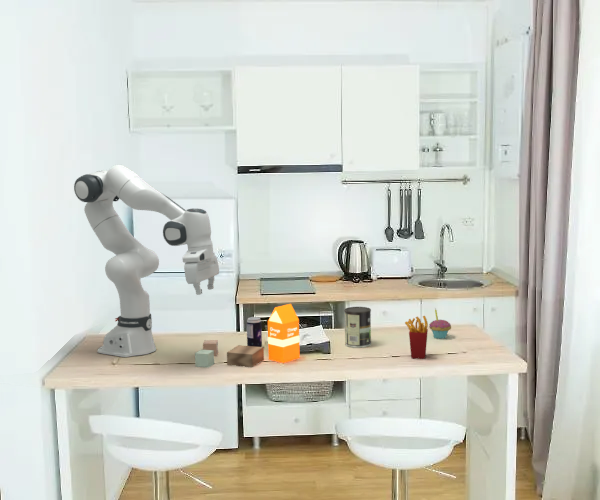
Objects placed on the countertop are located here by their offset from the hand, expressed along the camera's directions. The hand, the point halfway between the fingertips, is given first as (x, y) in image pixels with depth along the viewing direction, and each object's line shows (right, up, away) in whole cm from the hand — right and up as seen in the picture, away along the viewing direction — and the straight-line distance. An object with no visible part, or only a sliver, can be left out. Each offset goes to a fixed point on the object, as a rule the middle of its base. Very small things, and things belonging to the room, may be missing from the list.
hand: (205, 291), depth 275 cm
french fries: (+77, -24, +6) cm, 81 cm away
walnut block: (+14, -26, +3) cm, 30 cm away
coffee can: (+57, -22, +24) cm, 66 cm away
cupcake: (+90, -20, +32) cm, 98 cm away
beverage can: (+17, -23, +21) cm, 36 cm away
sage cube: (0, -27, +1) cm, 27 cm away
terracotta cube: (0, -25, +14) cm, 29 cm away
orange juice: (+28, -25, +7) cm, 39 cm away
